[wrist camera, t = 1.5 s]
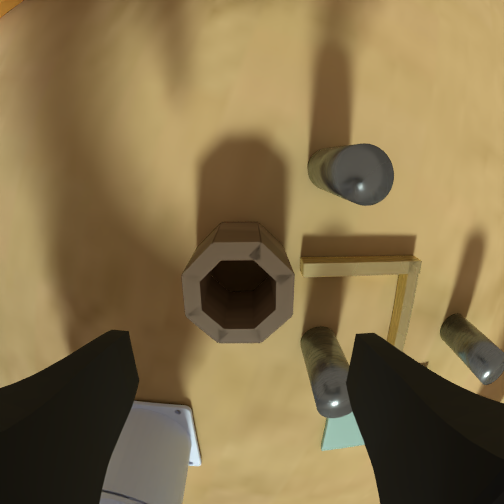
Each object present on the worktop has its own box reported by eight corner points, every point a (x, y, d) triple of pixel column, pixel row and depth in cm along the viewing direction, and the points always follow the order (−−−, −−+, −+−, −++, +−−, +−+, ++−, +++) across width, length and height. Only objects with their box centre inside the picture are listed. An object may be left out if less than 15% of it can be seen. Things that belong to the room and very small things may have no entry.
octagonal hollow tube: (200, 303, 19) (188, 342, 15) (195, 222, 18) (179, 243, 13) (282, 302, 19) (291, 342, 15) (284, 221, 18) (295, 241, 14)
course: (294, 373, 21) (306, 435, 15) (302, 147, 17) (329, 140, 11) (455, 352, 21) (493, 394, 15) (487, 167, 17) (548, 176, 11)
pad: (320, 446, 23) (321, 450, 23) (333, 380, 21) (335, 384, 21) (402, 432, 23) (403, 436, 23) (426, 367, 21) (429, 370, 21)
